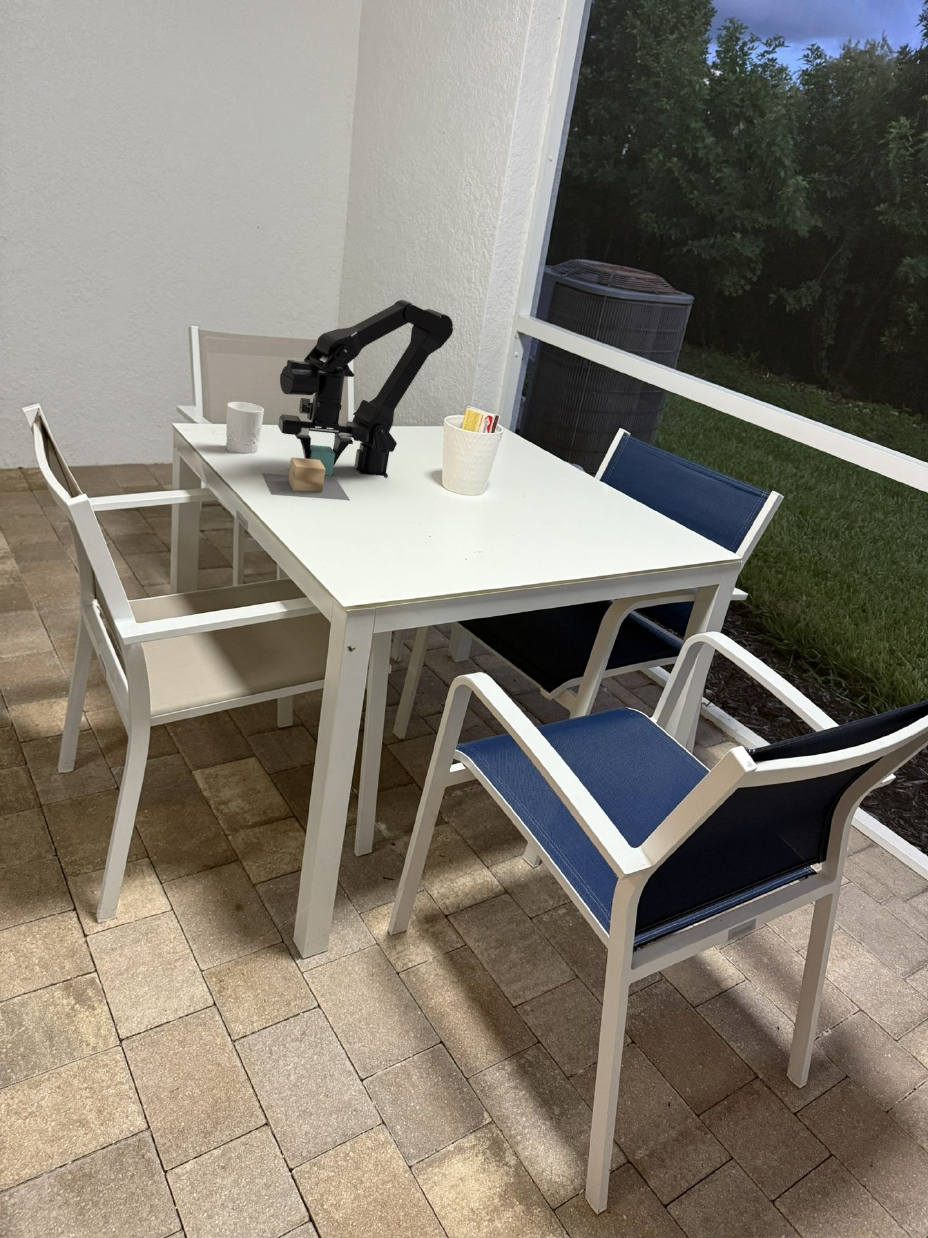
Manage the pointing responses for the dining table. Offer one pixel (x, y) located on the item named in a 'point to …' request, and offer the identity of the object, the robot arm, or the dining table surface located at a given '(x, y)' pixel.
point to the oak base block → (306, 475)
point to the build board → (283, 487)
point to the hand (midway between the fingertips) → (319, 466)
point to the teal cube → (323, 457)
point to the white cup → (243, 427)
